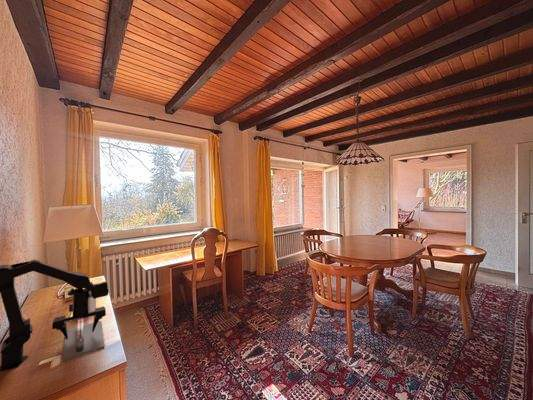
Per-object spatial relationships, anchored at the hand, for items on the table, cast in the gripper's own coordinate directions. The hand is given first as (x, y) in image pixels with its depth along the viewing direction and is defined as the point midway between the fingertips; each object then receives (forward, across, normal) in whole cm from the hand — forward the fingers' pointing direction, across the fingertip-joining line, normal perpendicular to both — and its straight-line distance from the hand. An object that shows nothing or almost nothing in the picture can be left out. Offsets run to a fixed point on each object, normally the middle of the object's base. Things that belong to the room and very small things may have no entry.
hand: (80, 335), depth 104 cm
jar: (+3, -2, -32) cm, 32 cm away
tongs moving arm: (+1, -1, -2) cm, 2 cm away
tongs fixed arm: (+2, 0, 0) cm, 2 cm away
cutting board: (+2, -2, 0) cm, 3 cm away
